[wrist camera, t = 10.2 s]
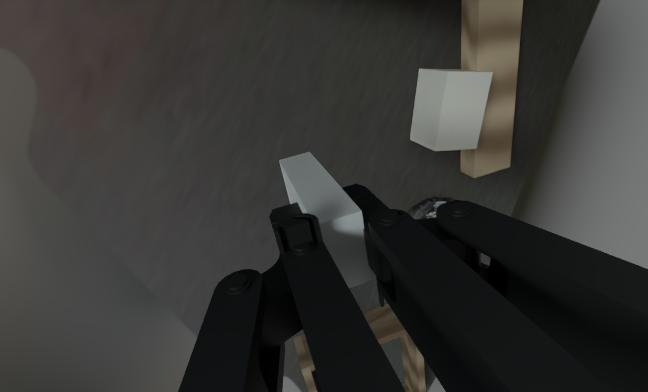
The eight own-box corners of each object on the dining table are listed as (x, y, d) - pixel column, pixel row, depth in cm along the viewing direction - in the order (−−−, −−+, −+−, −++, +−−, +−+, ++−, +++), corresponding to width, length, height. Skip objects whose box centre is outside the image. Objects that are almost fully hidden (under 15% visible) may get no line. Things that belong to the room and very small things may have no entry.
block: (418, 68, 41) (447, 71, 36) (459, 69, 43) (493, 72, 38) (409, 139, 45) (434, 151, 40) (447, 137, 46) (476, 148, 41)
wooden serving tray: (293, 337, 53) (301, 369, 48) (402, 297, 56) (421, 322, 51) (320, 421, 63) (329, 455, 58) (410, 383, 67) (427, 411, 61)
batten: (461, -16, 39) (479, -21, 36) (505, -24, 40) (525, -30, 37) (460, 171, 49) (474, 178, 47) (494, 160, 50) (510, 166, 48)
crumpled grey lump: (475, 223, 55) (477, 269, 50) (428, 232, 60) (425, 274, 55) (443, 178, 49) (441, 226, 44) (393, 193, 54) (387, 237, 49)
